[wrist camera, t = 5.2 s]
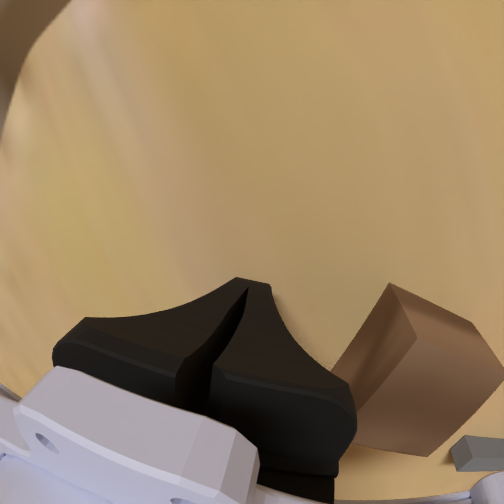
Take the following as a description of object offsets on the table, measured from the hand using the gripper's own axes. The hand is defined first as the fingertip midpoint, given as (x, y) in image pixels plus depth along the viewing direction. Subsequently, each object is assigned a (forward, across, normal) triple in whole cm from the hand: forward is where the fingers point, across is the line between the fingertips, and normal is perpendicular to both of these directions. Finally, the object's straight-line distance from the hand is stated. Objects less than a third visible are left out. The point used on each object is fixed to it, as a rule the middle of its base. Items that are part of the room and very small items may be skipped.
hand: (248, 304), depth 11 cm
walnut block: (+1, -7, +1) cm, 7 cm away
